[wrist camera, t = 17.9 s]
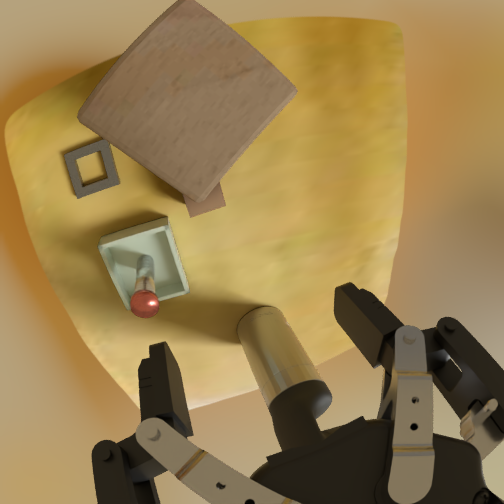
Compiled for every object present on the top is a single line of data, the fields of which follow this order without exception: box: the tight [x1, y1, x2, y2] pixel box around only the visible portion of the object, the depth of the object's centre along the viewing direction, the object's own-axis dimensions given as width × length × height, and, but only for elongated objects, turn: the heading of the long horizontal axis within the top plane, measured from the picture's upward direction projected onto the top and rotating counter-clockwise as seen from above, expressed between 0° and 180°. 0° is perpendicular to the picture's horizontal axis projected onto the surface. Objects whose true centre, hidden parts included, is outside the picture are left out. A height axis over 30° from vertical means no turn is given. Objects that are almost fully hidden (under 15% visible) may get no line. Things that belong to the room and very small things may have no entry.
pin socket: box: [64, 139, 120, 199], centre depth 31 cm, size 6×6×1 cm
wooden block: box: [77, 0, 297, 203], centre depth 22 cm, size 10×10×20 cm
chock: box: [183, 182, 226, 218], centre depth 34 cm, size 6×4×5 cm
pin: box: [130, 255, 159, 318], centre depth 35 cm, size 3×3×10 cm
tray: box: [97, 216, 190, 310], centre depth 38 cm, size 11×10×3 cm
